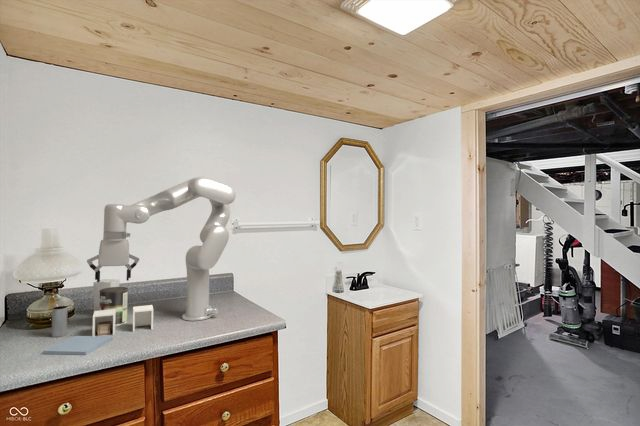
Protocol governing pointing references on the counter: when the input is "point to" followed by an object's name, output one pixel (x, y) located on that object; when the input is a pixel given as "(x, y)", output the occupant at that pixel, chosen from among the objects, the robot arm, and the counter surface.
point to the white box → (104, 319)
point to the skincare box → (102, 285)
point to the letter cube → (104, 328)
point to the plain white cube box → (142, 316)
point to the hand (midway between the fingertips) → (113, 280)
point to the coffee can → (115, 302)
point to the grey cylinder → (59, 321)
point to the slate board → (78, 345)
